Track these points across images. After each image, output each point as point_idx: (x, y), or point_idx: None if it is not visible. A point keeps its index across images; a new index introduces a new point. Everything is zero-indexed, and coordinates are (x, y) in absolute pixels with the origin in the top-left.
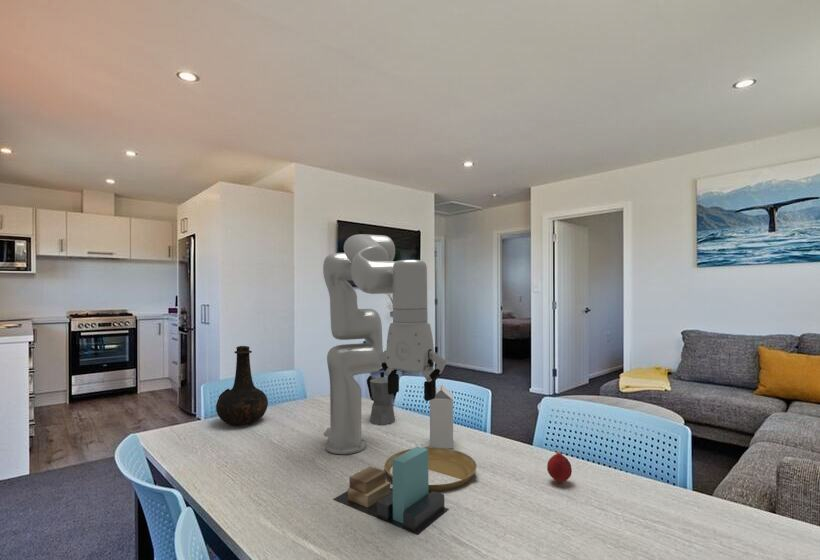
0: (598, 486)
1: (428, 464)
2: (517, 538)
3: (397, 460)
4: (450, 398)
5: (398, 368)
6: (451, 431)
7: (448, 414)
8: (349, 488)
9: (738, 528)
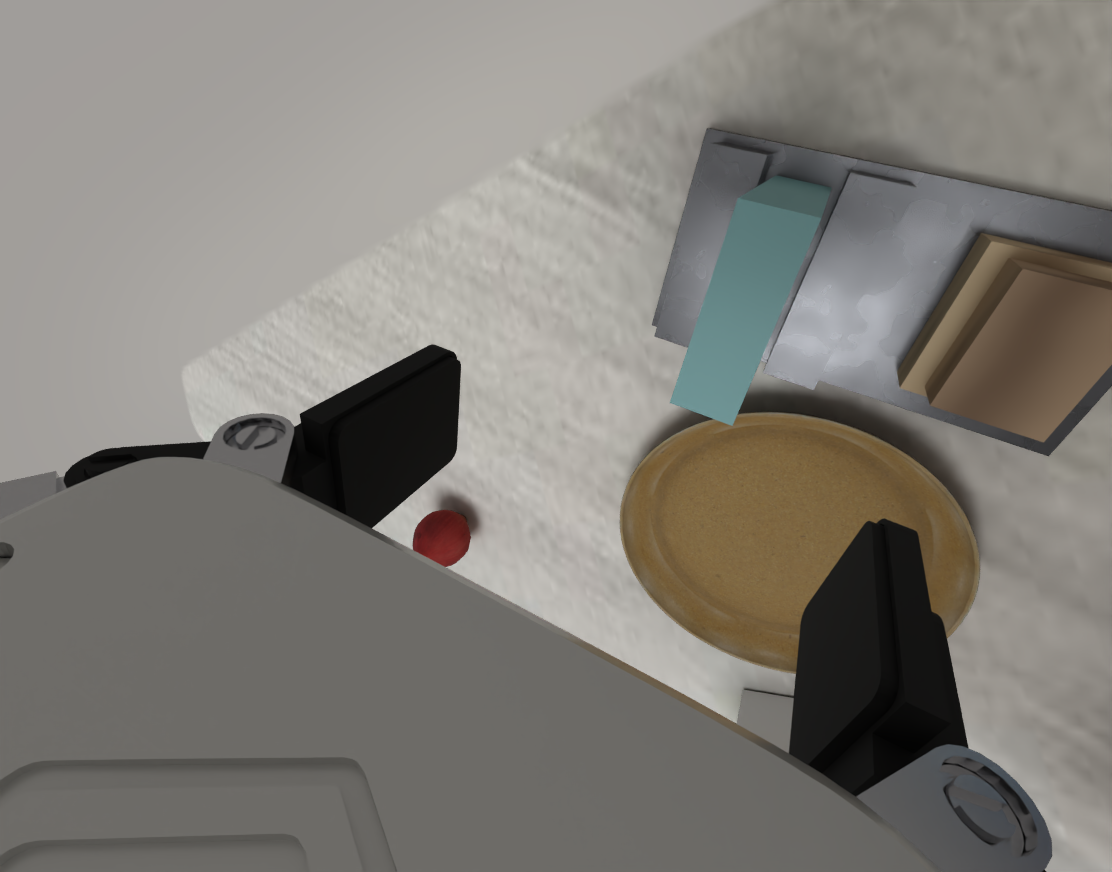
0: (403, 511)
1: (798, 593)
2: (474, 261)
3: (784, 214)
4: None
5: (593, 664)
6: None
7: None
8: None
9: (239, 411)
